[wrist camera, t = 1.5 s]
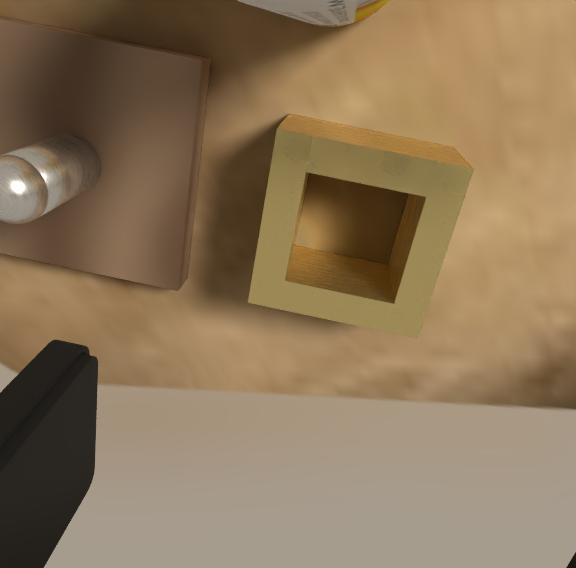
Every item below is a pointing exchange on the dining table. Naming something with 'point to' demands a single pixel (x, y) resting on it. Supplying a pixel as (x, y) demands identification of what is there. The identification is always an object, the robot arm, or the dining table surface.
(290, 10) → the beer can
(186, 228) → the keeper block
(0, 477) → the robot arm
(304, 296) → the square wooden frame
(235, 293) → the dining table surface
